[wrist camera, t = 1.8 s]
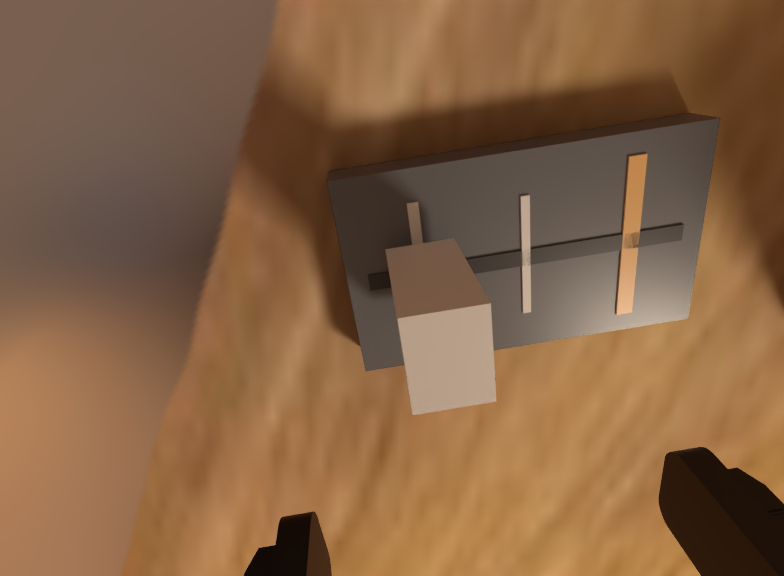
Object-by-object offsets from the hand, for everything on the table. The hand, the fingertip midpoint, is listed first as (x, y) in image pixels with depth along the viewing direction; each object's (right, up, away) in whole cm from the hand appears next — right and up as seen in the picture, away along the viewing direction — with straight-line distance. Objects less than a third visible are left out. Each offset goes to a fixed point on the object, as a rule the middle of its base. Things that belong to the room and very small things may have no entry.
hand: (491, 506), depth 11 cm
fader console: (+4, +7, +13) cm, 16 cm away
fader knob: (-1, +5, +11) cm, 12 cm away
